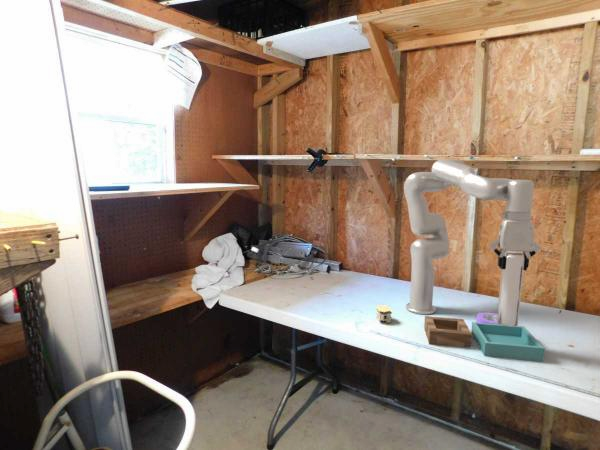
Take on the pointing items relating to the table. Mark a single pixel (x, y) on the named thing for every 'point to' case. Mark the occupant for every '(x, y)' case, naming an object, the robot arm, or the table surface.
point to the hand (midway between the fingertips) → (512, 268)
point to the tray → (507, 341)
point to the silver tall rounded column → (510, 289)
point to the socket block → (447, 332)
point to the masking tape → (487, 318)
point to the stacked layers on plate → (383, 313)
